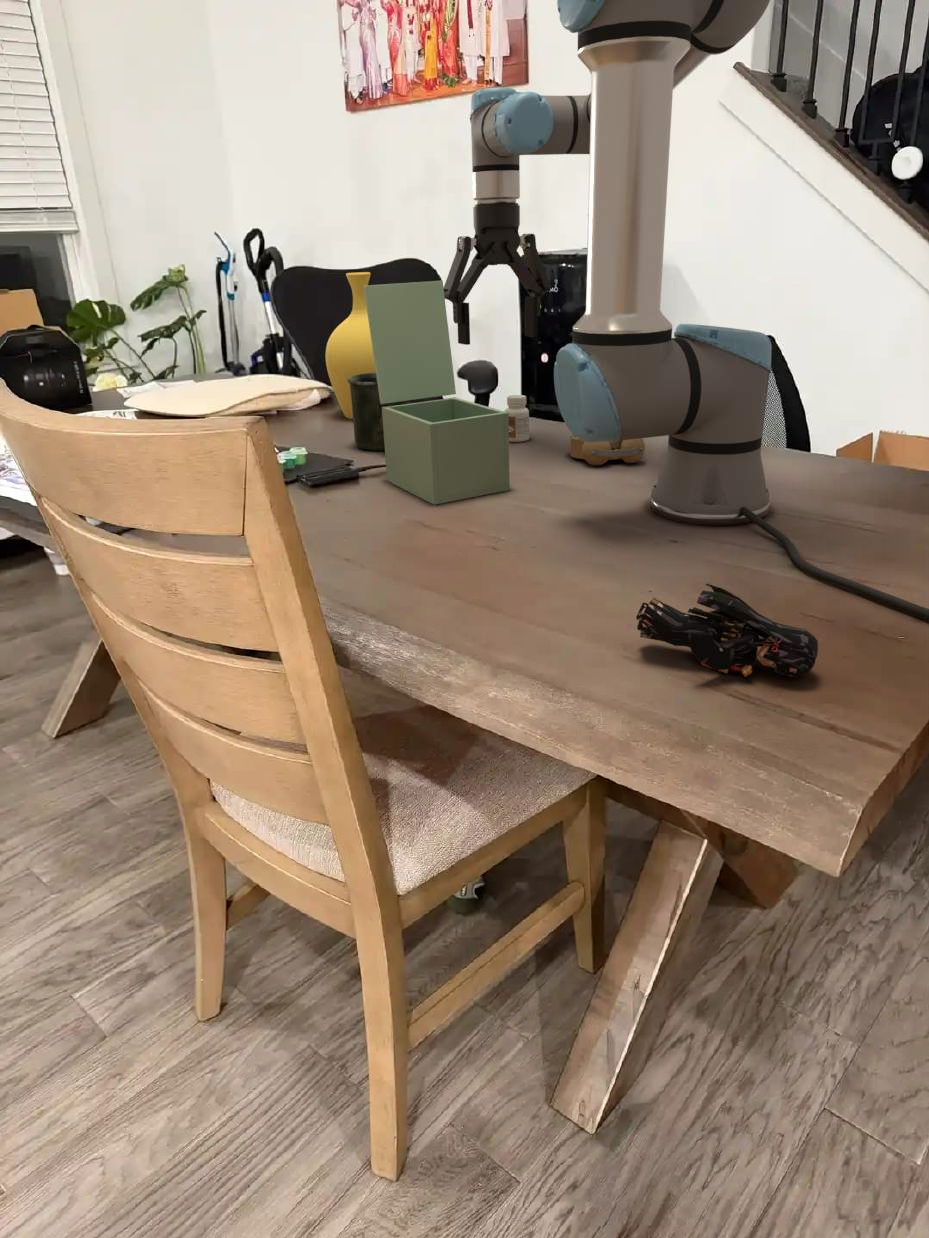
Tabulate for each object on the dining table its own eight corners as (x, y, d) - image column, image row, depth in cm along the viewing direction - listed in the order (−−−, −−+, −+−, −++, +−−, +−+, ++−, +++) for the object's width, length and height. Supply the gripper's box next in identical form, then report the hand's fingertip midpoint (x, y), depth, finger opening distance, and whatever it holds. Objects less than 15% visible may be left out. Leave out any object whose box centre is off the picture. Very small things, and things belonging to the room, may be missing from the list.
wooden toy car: (626, 429, 145) (656, 431, 131) (626, 458, 146) (656, 463, 132) (562, 433, 144) (586, 436, 129) (563, 462, 145) (587, 468, 131)
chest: (509, 490, 124) (508, 412, 119) (434, 505, 118) (429, 424, 114) (457, 468, 136) (455, 397, 132) (387, 481, 131) (381, 407, 126)
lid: (442, 280, 127) (440, 281, 127) (365, 285, 121) (363, 286, 122) (456, 394, 131) (453, 394, 132) (382, 404, 126) (380, 404, 126)
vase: (373, 405, 190) (363, 270, 178) (422, 412, 179) (415, 270, 168) (315, 417, 179) (300, 275, 168) (364, 426, 169) (352, 275, 157)
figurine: (621, 643, 70) (811, 686, 65) (643, 557, 71) (832, 592, 66) (635, 661, 78) (805, 700, 73) (655, 583, 79) (824, 616, 74)
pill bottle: (500, 439, 155) (499, 396, 151) (521, 436, 156) (521, 393, 153) (511, 443, 151) (511, 399, 148) (533, 440, 153) (533, 397, 149)
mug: (408, 436, 159) (404, 370, 154) (419, 453, 146) (415, 383, 141) (350, 440, 157) (345, 374, 152) (357, 458, 144) (350, 387, 139)
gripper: (546, 201, 144) (545, 332, 153) (416, 204, 133) (423, 345, 142) (572, 200, 138) (570, 335, 147) (439, 202, 127) (445, 349, 136)
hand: (498, 340), depth 145 cm, fingers open, 13 cm apart
